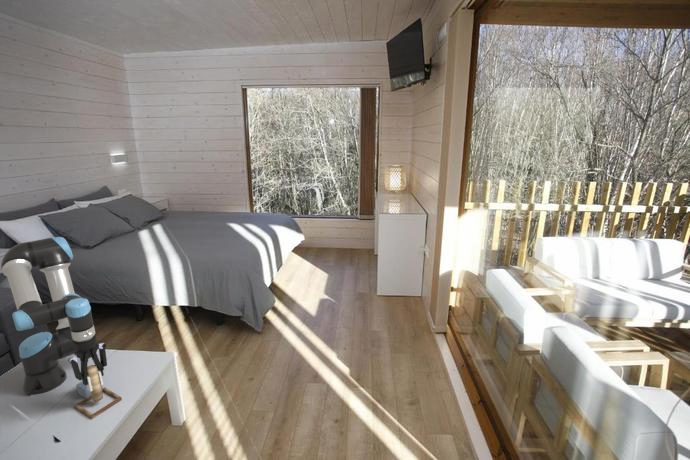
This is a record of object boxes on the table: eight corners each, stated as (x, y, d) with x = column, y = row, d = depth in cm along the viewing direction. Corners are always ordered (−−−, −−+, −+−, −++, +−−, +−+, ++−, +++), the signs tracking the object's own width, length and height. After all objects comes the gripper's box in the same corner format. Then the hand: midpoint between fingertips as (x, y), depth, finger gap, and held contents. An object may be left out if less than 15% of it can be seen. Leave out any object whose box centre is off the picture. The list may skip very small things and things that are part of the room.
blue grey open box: (78, 395, 162) (76, 384, 160) (94, 385, 167) (92, 375, 166) (87, 400, 159) (85, 389, 157) (103, 390, 164) (101, 380, 163)
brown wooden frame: (75, 409, 154) (74, 405, 153) (105, 391, 164) (104, 387, 163) (92, 420, 149) (91, 416, 148) (122, 401, 159) (121, 397, 158)
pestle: (90, 399, 154) (83, 368, 150) (99, 394, 157) (93, 363, 153) (95, 402, 153) (89, 371, 148) (104, 397, 156) (98, 366, 151)
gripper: (66, 350, 138) (78, 403, 145) (111, 329, 152) (120, 378, 159) (55, 345, 141) (68, 396, 148) (100, 324, 155) (110, 372, 162)
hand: (95, 386), depth 153 cm, fingers closed on pestle, 3 cm apart
